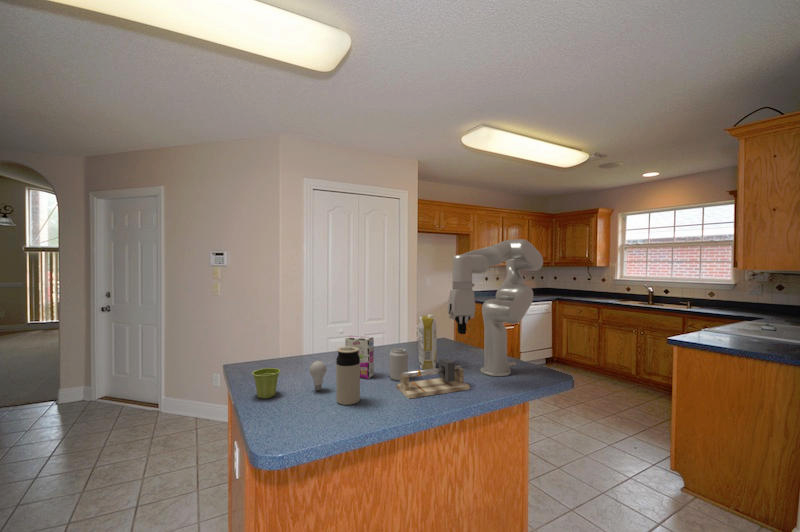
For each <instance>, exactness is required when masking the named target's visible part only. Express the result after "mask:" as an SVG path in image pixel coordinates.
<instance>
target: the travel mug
mask: <svg viewBox="0 0 800 532" xmlns="http://www.w3.org/2000/svg"><path fill="white" fill-rule="evenodd" d="M336 351H337V354H338V355H337V357H336V360H335V361H336V362H335V363H336V370H335V371H336V373H335V375H336V403H338V404H339V405H343V406H350V405H355V404H357V403H359V402H360V400H361V395H360V394H361V378H360V357H359V355H358V351H359V348H357V347H346V346H342V347H338V348H337V349H336Z"/></svg>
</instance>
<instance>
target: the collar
mask: <svg viewBox="0 0 800 532" xmlns="http://www.w3.org/2000/svg"><path fill="white" fill-rule="evenodd" d="M455 366H456V362H455V361H453V360H451V359H449V358H447V357H444V358H438V368H442V367H445V373H439V374H438V376H439V377H438V378H442V379H444V380H445V381H447V382H452V381H455Z"/></svg>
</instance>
